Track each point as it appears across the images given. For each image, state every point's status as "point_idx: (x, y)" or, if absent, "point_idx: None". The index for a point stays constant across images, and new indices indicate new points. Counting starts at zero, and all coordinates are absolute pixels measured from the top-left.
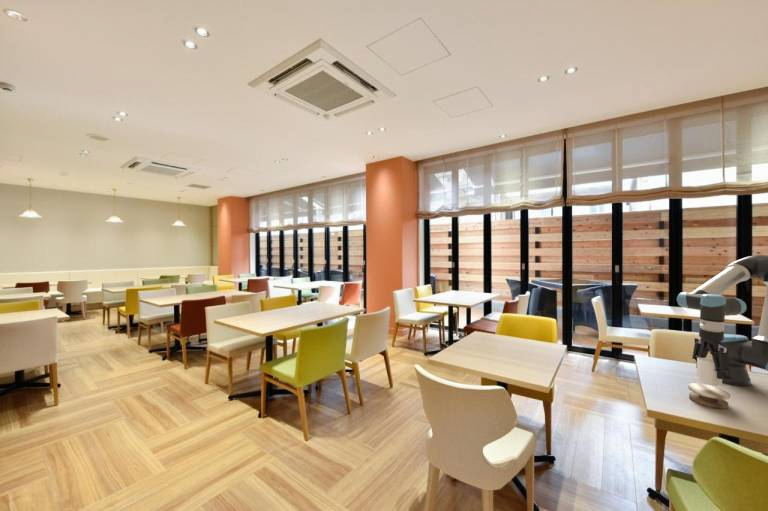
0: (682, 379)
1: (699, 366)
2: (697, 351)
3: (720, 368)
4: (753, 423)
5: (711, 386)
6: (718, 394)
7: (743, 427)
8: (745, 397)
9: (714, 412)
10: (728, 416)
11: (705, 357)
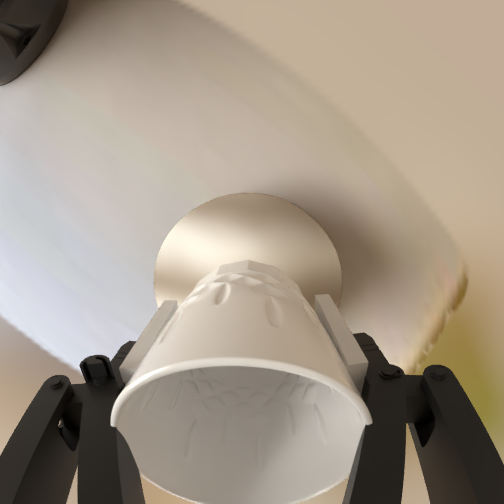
0: (23, 208)
1: (245, 455)
2: (59, 481)
3: (415, 429)
4: (419, 225)
5: (187, 234)
6: (308, 281)
7: (439, 287)
8: (164, 44)
9: (347, 311)
10: (376, 280)
11: (117, 428)
